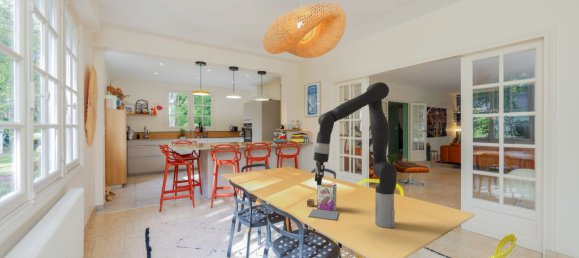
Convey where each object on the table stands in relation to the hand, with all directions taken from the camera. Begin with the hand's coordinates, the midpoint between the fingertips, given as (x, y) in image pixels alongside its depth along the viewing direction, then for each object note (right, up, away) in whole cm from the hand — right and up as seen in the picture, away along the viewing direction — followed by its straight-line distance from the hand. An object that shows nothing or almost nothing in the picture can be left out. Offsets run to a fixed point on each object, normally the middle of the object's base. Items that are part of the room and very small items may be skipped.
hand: (317, 183), depth 123 cm
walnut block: (-1, -23, +33) cm, 40 cm away
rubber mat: (+6, -23, +17) cm, 29 cm away
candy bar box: (+9, -23, +27) cm, 36 cm away
